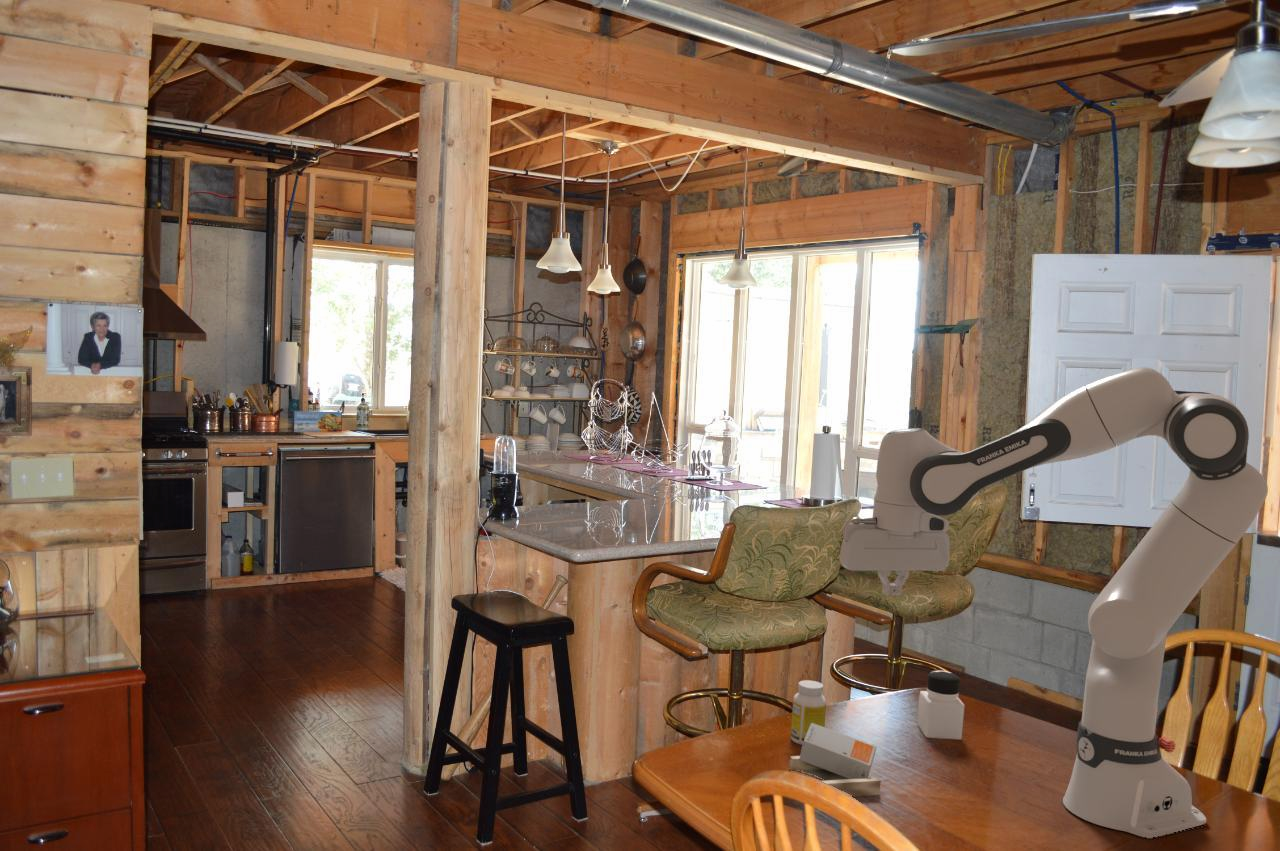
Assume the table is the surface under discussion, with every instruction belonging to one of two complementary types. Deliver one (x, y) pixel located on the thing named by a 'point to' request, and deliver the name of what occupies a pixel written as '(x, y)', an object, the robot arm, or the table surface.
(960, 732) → the medicine bottle
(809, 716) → the pill bottle
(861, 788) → the rest
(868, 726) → the table surface
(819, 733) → the skincare box
